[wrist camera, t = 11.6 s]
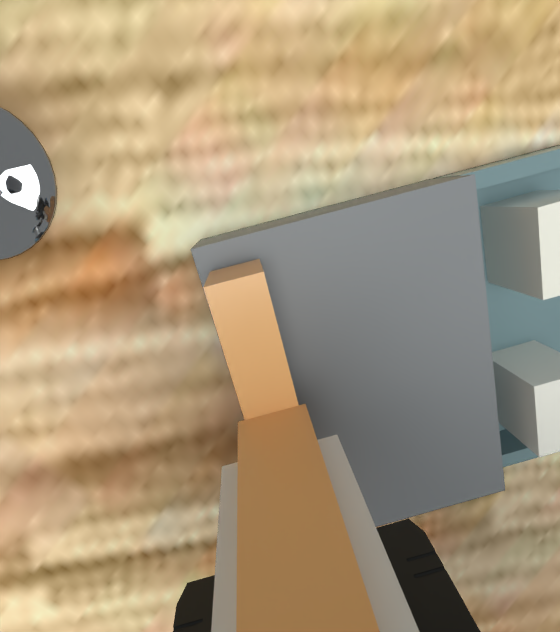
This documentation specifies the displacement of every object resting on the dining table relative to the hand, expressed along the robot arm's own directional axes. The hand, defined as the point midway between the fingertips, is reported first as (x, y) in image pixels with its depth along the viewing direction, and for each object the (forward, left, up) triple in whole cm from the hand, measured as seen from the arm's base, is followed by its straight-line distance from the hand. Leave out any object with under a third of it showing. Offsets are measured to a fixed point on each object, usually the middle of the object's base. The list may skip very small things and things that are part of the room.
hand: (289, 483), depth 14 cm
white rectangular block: (+4, -12, -6) cm, 14 cm away
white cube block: (-4, -12, -6) cm, 14 cm away
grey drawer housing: (0, -4, -9) cm, 10 cm away
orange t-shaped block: (0, 0, -4) cm, 4 cm away
